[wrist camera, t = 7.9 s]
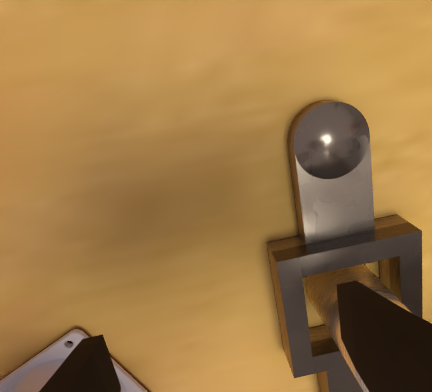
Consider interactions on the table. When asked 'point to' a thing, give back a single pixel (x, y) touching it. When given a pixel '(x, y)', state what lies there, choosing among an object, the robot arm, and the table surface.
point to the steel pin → (328, 302)
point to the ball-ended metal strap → (336, 235)
